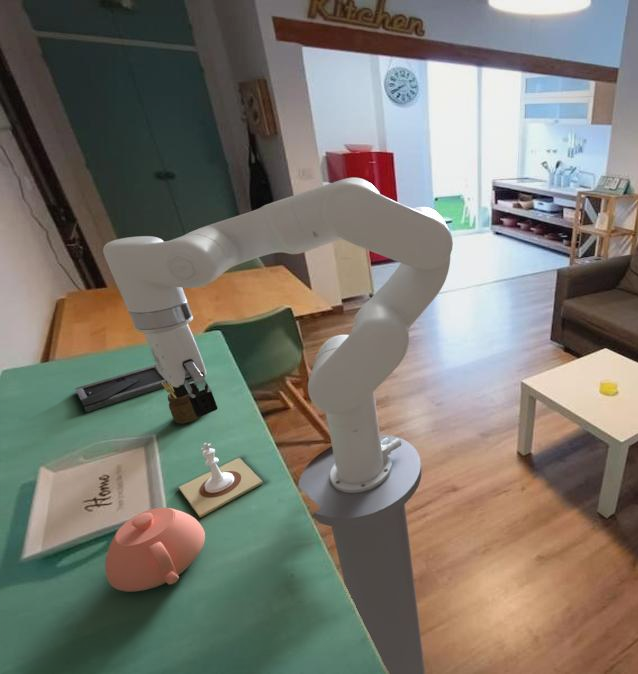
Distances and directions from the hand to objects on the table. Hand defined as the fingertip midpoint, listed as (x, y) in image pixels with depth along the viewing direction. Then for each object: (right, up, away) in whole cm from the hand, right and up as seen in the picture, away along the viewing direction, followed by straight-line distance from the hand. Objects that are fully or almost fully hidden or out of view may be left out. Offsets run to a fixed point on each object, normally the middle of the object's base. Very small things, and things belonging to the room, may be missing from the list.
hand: (196, 403), depth 75 cm
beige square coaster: (-1, -18, +8) cm, 20 cm away
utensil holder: (-23, -8, +28) cm, 38 cm away
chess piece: (-1, -17, +8) cm, 19 cm away
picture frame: (-49, -2, +39) cm, 63 cm away
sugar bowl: (+1, -26, -7) cm, 27 cm away
